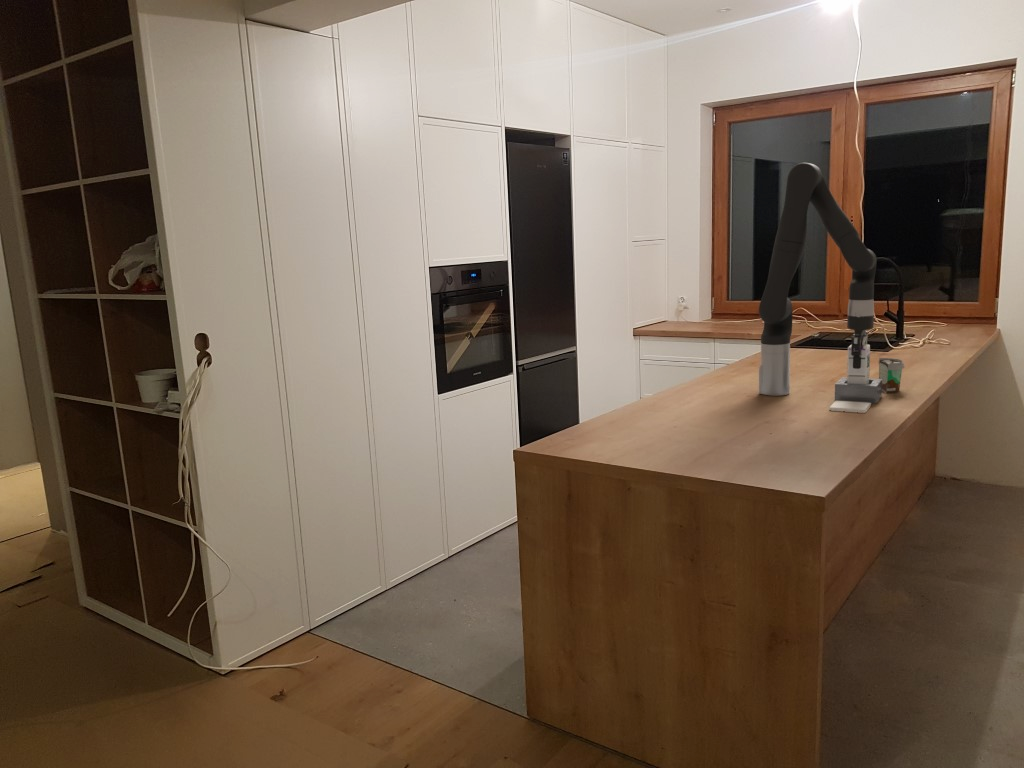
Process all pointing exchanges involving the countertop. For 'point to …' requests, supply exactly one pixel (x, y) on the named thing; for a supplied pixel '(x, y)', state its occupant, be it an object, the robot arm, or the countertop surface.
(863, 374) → the syrup box
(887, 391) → the food container
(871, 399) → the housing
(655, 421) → the countertop surface
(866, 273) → the robot arm
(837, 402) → the pad
